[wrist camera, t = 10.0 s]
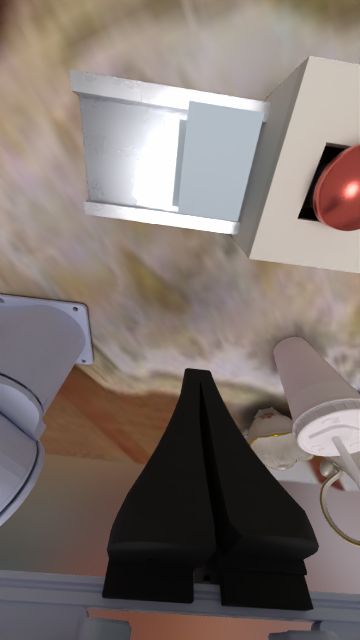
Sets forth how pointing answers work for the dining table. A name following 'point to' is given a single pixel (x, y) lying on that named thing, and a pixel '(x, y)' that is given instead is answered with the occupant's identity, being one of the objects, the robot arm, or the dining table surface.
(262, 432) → the chinaware
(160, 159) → the rail
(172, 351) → the dining table surface
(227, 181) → the carriage
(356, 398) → the smoothie
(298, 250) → the end cabinet
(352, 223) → the red push button
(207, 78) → the dining table surface
